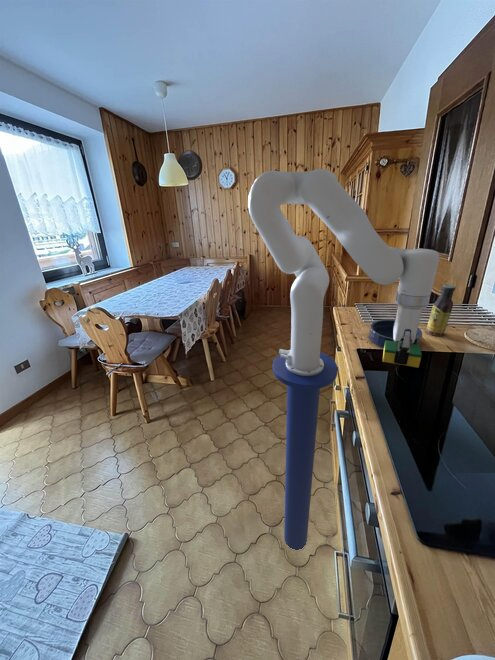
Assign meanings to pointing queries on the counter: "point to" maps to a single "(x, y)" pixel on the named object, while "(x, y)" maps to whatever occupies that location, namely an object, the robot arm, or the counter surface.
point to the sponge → (391, 349)
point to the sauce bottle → (441, 311)
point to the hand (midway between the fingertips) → (399, 356)
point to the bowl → (386, 332)
